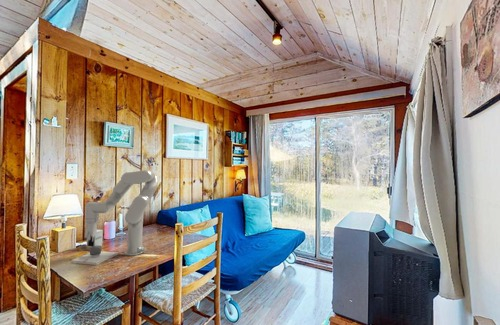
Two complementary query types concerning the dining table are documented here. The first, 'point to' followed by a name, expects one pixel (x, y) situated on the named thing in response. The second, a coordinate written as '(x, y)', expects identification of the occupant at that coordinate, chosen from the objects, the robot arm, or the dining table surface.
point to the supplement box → (97, 238)
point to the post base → (94, 258)
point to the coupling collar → (91, 249)
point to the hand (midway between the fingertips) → (90, 247)
